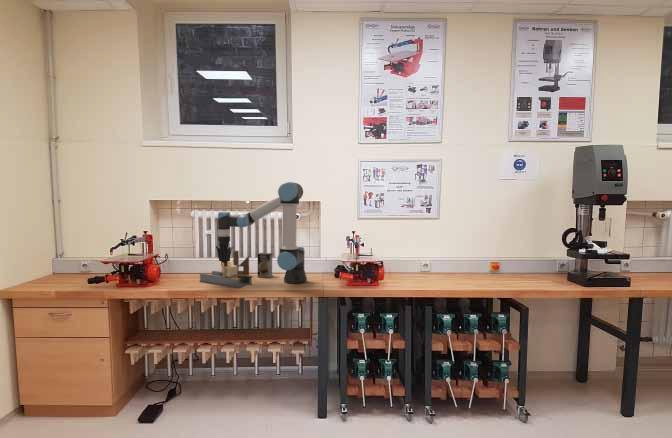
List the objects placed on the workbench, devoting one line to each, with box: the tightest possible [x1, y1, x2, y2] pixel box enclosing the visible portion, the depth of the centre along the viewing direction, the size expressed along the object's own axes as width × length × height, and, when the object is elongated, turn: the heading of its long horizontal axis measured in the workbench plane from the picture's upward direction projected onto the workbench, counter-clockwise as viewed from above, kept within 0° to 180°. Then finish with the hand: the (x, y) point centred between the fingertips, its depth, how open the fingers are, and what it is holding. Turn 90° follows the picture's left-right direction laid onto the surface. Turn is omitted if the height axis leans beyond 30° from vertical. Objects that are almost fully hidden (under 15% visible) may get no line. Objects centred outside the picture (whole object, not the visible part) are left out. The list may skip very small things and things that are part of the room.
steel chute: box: [199, 270, 253, 289], centre depth 237 cm, size 34×12×5 cm, turn 60°
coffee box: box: [257, 252, 273, 278], centre depth 258 cm, size 9×6×16 cm
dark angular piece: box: [232, 250, 250, 275], centre depth 257 cm, size 4×11×18 cm, turn 96°
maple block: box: [223, 264, 238, 278], centre depth 235 cm, size 6×7×10 cm
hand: (224, 272), depth 237 cm, fingers closed
